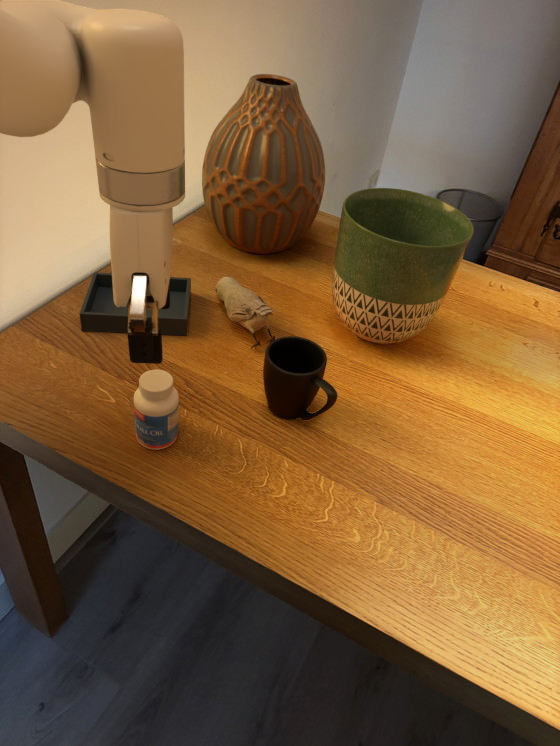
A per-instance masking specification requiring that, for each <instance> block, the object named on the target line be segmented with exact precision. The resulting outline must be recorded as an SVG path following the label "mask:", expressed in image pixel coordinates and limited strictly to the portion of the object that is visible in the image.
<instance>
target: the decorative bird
mask: <svg viewBox="0 0 560 746" xmlns="http://www.w3.org/2000/svg"><path fill="white" fill-rule="evenodd" d="M215 293H216V298H217V299H218V300H219V301H223V302H224V307H225V310H226V313H227V317H228V318H229V320H230V321H231V322H235V323H238V324H239V325H240V326H242V327H243V328H245V329H247V330H248V331H249V332H251V334H252V337H253V339H254V341H255V344H253V345H252V346H251V347H250V350H252V349H253V348H254V347H255V350H257V347H262V343H261V341H262V339H257V337H256V332H257V331H260V330H261V329H263V328H266V329H267V332H268V335H269V337H270V339H269V340H267V342H265V345H267V344H268V343H269V344H270V343H271V342H272V341H273V340H275V339H276V334H274V335H272V333H271V329H270V325H269V320H270V316H274V314H273V313H276V312H277V311H276V310H274V309H273V308H272V307H270V305H268V304H267V302H266V301H265V299H264V298H263V297H262V296H260V295H257V293H255V292H254V291H252V290H251V289H249V288H247V287H244V286H243V285H242V284H240V283H239V281H238V280H237V279H236V278H234V277H232V276H226V275H225V276H222V277H221V278H219V280H217V283H216V285H215Z"/></svg>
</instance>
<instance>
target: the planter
mask: <svg viewBox="0 0 560 746" xmlns="http://www.w3.org/2000/svg"><path fill="white" fill-rule="evenodd" d="M474 231H475V230H474V225H473V223H472V221H471V220H470V219H469V217H468V216H467V215H466V214H464V213H463V212H462V211H461V210H459V209H458V208H456V207H455V206H453V205H451V204H450V203H447V202H446V201H443V200H441V199H439V198H436V197H434V196H431V195H427V194H424V193H420V192H416V191H412V190H407V189H401V188H400V189H399V188H394V187H391V188H390V187H372V188H364V189H360V190H357V191H354V192H352V193H350V194H349V195H347V196H346V198H344V200H343V202H342V208H341V213H340V219H339V227H338V234H337V239H336V240H337V241H336V249H335V255H334V263H333V270H332V277H331V293H332V294H331V295H332V302H333V307H334V310H335V312H336V314H337V316H338V317H339V319H340V321H341V322H342V324H343V325H344V326H345V327H346V328H347V329H348V330H349V331H350V332H351V333H353V334H354V335H356V336H357V337H358V338H361V339H362V340H364V341H368V342H370V343H374V344H380V345H381V344H382V345H389V344H396V343H401V342H405V341H406V340H409V339H412V338H414V337H415V336H418V335H419V334H420V333H421V332H423V331H424V330H425V329H426V328H427V327H428V326H429V325H430V324H431V322H432V321H433V320H434V318H435V317H436V315H437V314H438V312H439V311H440V309H441V307H442V305H443V303H444V301H445V299H446V296H447V294H448V292H449V290H450V288H451V285H452V284H453V282H454V279H455V276H456V274H457V272H458V269H459V268H460V265H461V264H462V261H463V259H464V257H465V255H466V252H467V250H468V249H469V245H470V243H471V240H472V239H473V235H474Z"/></svg>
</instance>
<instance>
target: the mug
mask: <svg viewBox="0 0 560 746" xmlns="http://www.w3.org/2000/svg"><path fill="white" fill-rule="evenodd" d="M266 346H267V347H266V349H265V352H264V358H263V359H264V360H263V367H262V380H263V389H264V394H265V398H266V402H267V407H268V410H269V411H270V412H271V414H273V416H275V417H277V418H278V419H281V420H284V421H285V420H286V421H295V420H298V419H301V420H302V421H303V422H307V421H310V420H313V419H315V418H317V417H318V416H320V415H322V414H324V413H326V412H328V411H329V410H330V409H331V408H333V407H334V405H335V404H336V402H337V400H338V392H337V390H336V389H335V387H334V386H333V385H332V384H330V382H328V381H327V380H326V379H324V377H325V372H326V368H327V367H326V366H327V363H328V356H327V353H326V352H325V350H324V349H323V348H322V346H320V344H318V343H317V342H315V341H313V340H311V339H308V338H306V337H303V336H302V337H301V336H297V335H296V336H295V335H288V336H281V337H278V338H275V340H273V341H272V342H271V343H270V342H269V344H268V345H266ZM320 389H321V390H322V391H323V392H324V393H325V394H326V397H327V399H326V402H325V404H324V405H323V406H322V407H321V408H319V409H318V410H316V411H314V412H310V411H308V409H309V408H310V406H311V404H312V403H313V402H314V400H315V398H316V397H317V395H318V394H319V391H320Z"/></svg>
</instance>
